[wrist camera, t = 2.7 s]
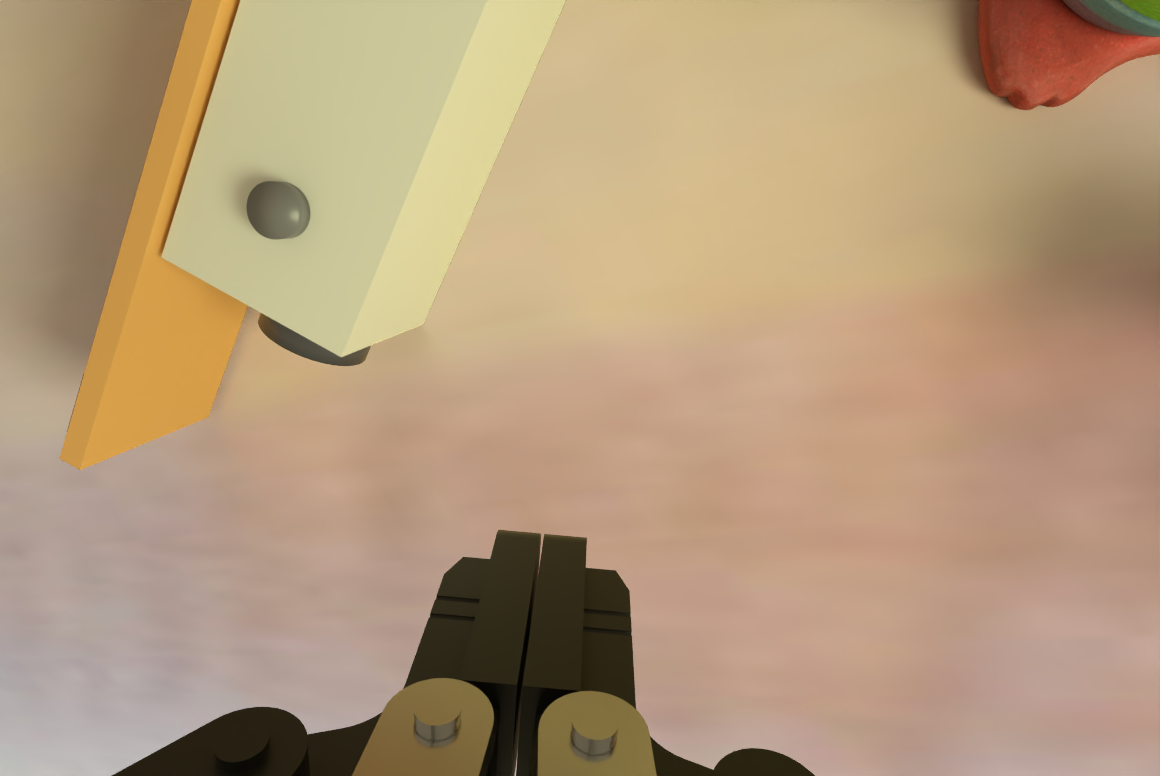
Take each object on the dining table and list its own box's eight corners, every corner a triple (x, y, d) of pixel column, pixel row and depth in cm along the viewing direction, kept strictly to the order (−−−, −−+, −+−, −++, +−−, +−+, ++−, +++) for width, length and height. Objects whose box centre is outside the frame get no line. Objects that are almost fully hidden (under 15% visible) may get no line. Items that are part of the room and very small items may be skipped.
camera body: (404, -96, 31) (286, -209, 22) (570, -10, 30) (513, -92, 22) (271, 271, 36) (135, 291, 28) (412, 349, 36) (317, 393, 27)
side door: (355, -123, 30) (233, -234, 23) (393, -104, 30) (283, -208, 23) (178, 400, 38) (43, 449, 30) (208, 416, 38) (79, 470, 30)
